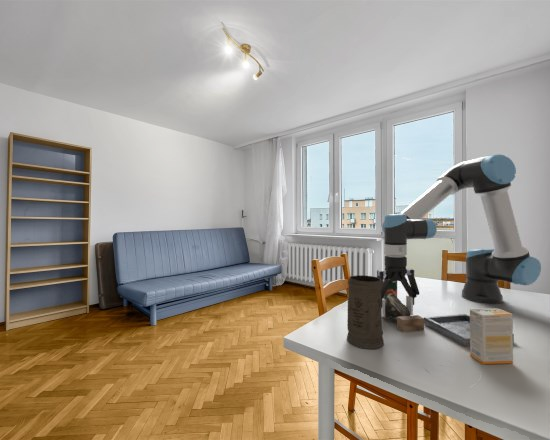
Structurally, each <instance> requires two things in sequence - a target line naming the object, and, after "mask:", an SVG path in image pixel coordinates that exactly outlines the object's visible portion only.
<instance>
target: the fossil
mask: <svg viewBox="0 0 550 440" xmlns="http://www.w3.org/2000/svg"><path fill="white" fill-rule="evenodd" d="M400 316H412V315H411V314H410V312H409V310H408V308H407V307H406V304H404V303H402V301H401V300H400V299H399V298H398V296H397V297H396V296H395V295H394V294H392V293H391V294H388V296H387V297H386V299H385V317H383V319H384V320H388V319H391V318H393V319H397V317H400Z"/></svg>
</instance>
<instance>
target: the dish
mask: <svg viewBox="0 0 550 440" xmlns="http://www.w3.org/2000/svg"><path fill="white" fill-rule="evenodd" d="M423 318H424V326H425V327H426V326H427V327H429V328H430V329H432V330H434V331H435V332H438V333H439V334H441V335H443V336H445V337H447V338H448V339H450V340H451V341H454V342H455V343H457V344H459V345H461V346H463V347H464V348H470V314H466V313H462V314H446V315H435V316H434V315H433V316H424V317H423ZM514 337H515V335H514V333H513V343H514V341H515V340H514V339H515V338H514Z"/></svg>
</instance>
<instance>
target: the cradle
mask: <svg viewBox="0 0 550 440" xmlns="http://www.w3.org/2000/svg"><path fill="white" fill-rule="evenodd" d="M396 319H397V321H396V328H397V330H399V331H401V332H402V333H407V332H416V331H417V332H418V331H419V332H420V331H425V324H424V317H422V316H420V315H419V314H416V315H414V314H413V315H410V316H400V317H397V318H396Z"/></svg>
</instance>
